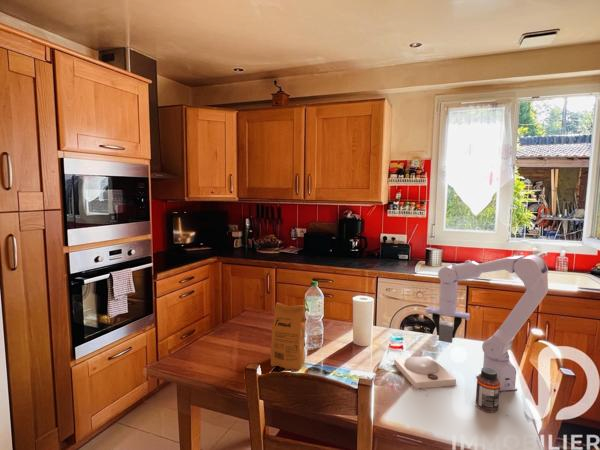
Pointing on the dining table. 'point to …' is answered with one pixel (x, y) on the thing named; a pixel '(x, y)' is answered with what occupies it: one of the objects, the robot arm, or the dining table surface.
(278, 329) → the coffee package
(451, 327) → the steel spacer
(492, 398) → the supplement bottle
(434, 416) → the dining table surface
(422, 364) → the kitchen scale
